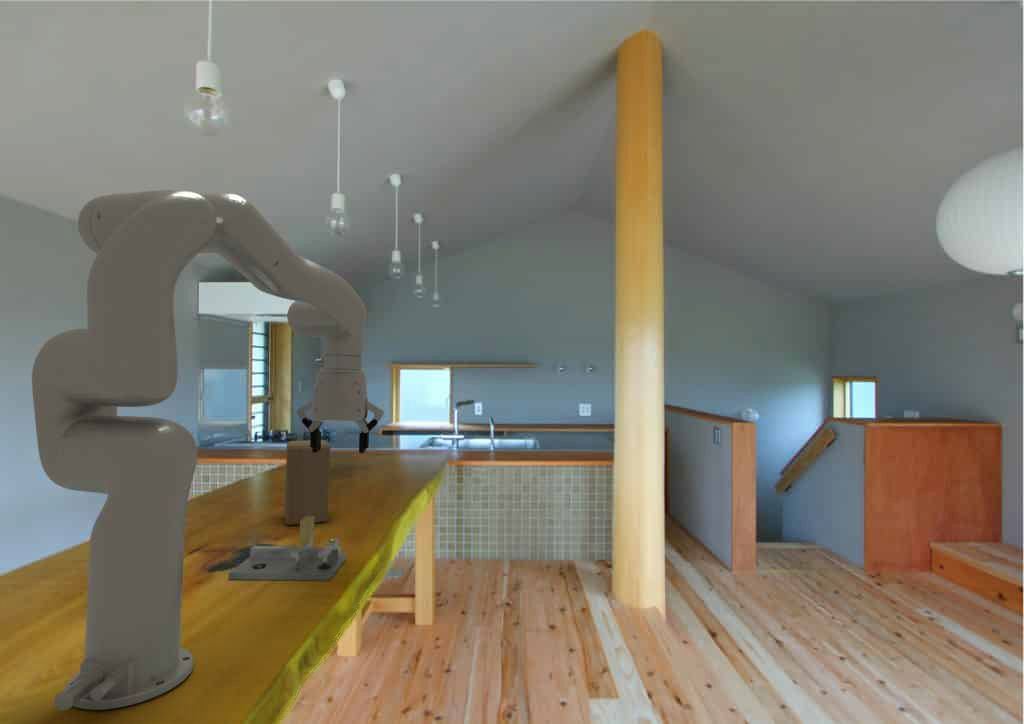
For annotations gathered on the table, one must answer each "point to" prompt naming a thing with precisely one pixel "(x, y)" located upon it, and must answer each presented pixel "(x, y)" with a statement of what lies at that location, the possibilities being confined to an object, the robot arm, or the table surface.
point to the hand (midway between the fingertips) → (339, 451)
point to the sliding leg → (304, 537)
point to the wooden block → (306, 482)
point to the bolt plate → (290, 563)
